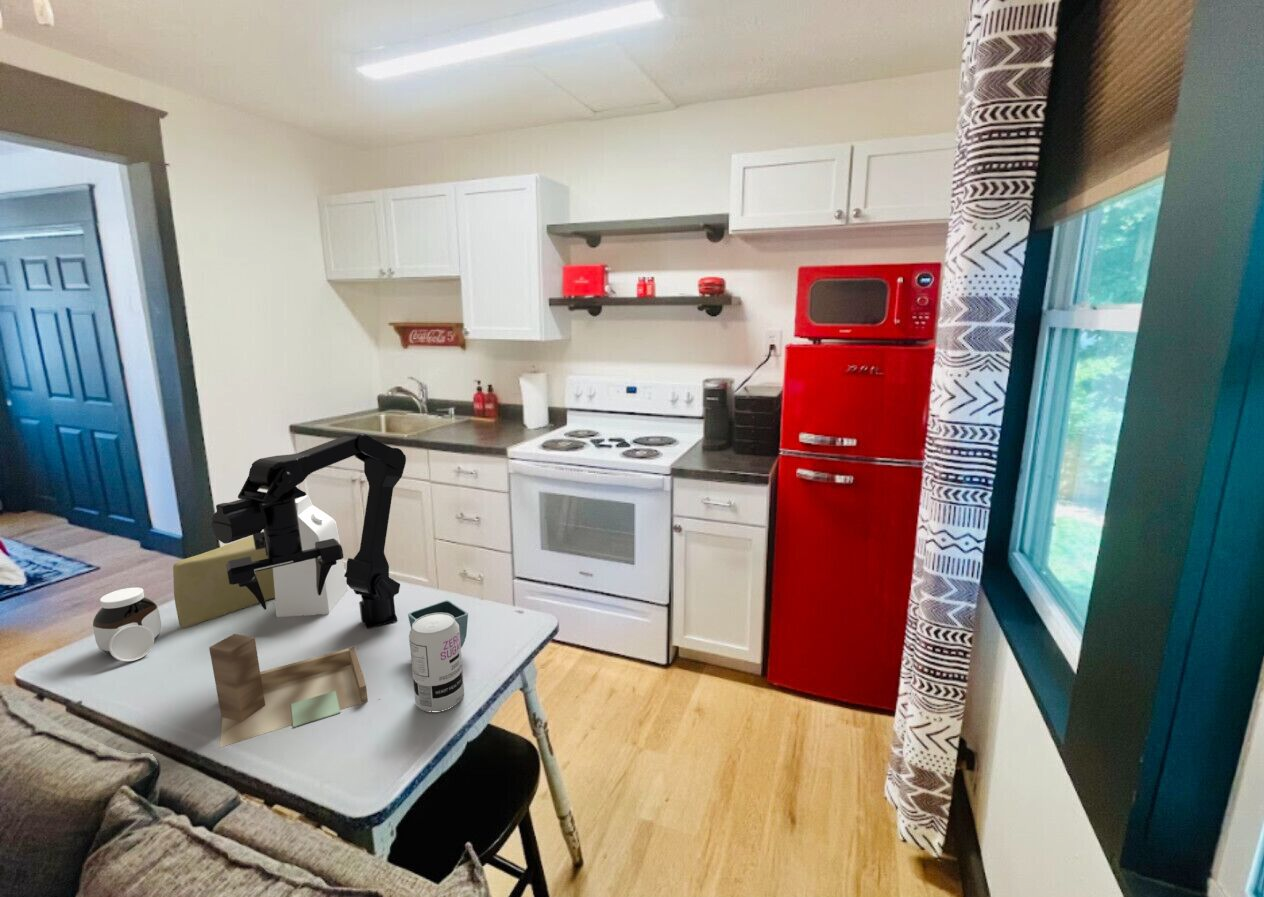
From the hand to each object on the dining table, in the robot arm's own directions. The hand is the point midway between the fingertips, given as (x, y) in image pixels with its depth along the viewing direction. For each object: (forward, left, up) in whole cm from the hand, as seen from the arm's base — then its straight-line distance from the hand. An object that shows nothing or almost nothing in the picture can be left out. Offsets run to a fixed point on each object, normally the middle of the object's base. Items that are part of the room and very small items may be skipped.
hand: (292, 601), depth 114 cm
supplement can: (-20, +27, -13) cm, 36 cm away
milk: (-4, -27, -13) cm, 30 cm away
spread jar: (+29, -24, -13) cm, 40 cm away
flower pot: (-24, +12, -13) cm, 30 cm away
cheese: (+12, -35, -13) cm, 39 cm away
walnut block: (+9, +12, -13) cm, 20 cm away
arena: (+2, +13, -13) cm, 19 cm away
